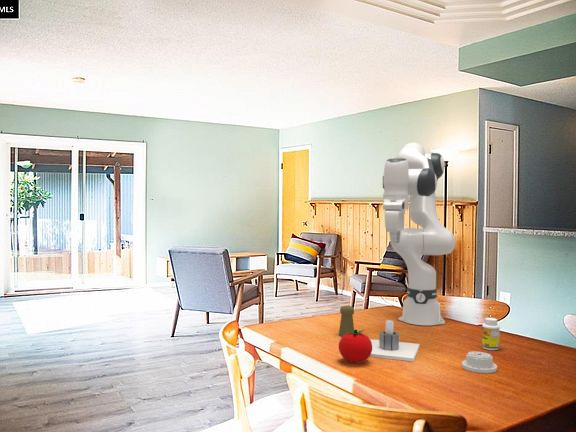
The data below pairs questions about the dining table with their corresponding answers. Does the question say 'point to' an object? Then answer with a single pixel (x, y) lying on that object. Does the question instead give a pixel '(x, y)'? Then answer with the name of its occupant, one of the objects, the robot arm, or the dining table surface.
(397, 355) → the post block
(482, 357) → the mechanical component
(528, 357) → the dining table surface
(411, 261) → the robot arm
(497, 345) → the supplement bottle
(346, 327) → the olive pepper mill
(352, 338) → the tomato
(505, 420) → the dining table surface
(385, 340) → the ring
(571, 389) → the dining table surface
